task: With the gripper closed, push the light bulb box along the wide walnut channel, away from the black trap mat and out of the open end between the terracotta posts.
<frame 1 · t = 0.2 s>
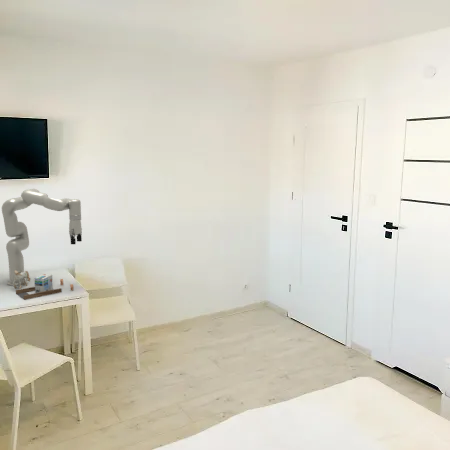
hand: (76, 242, 310), 31 cm above the table, tool pointing down, fingers open, 9 cm apart
light bulb box: (44, 292, 303), on the table
guide channel: (38, 293, 301), on the table
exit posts: (66, 287, 314), on the table
trap mat: (24, 295, 295), on the table
unicorn figurine: (24, 287, 312), on the table
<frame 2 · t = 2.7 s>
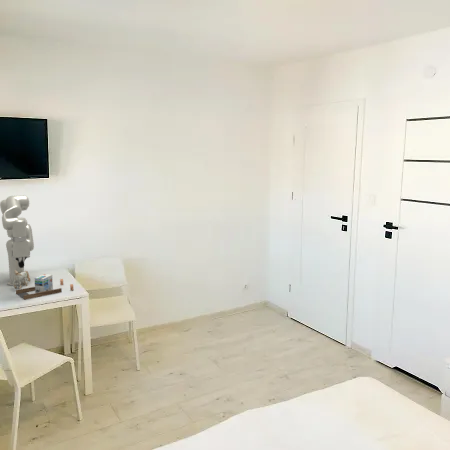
hand: (21, 267, 291), 19 cm above the table, tool pointing down, fingers closed
nothing on the table moved.
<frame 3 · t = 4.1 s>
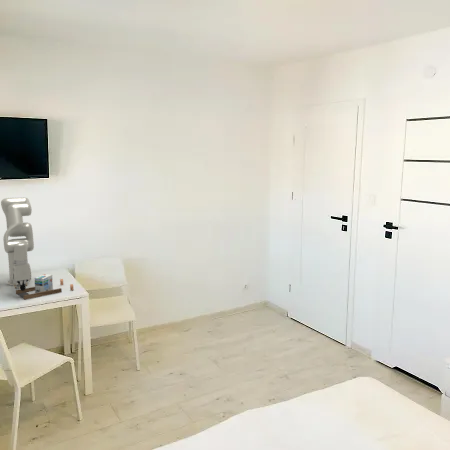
hand: (22, 290, 293), 4 cm above the table, tool pointing down, fingers closed
nothing on the table moved.
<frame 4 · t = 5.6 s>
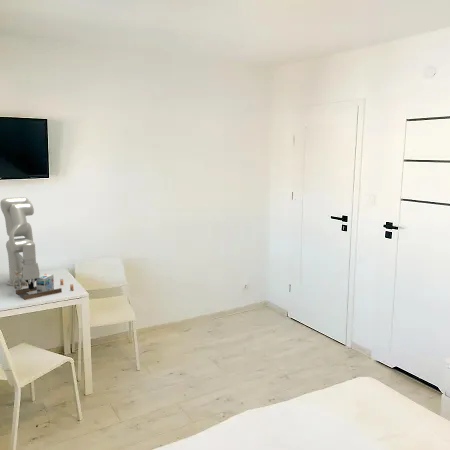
hand: (31, 289, 297), 4 cm above the table, tool pointing down, fingers closed
light bulb box: (45, 292, 304), on the table, touching gripper
everything else where it was.
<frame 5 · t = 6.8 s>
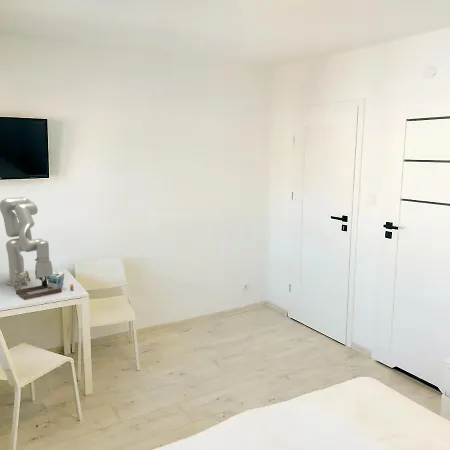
hand: (44, 286, 303), 4 cm above the table, tool pointing down, fingers closed
light bulb box: (54, 289, 308), on the table
everything else where it was.
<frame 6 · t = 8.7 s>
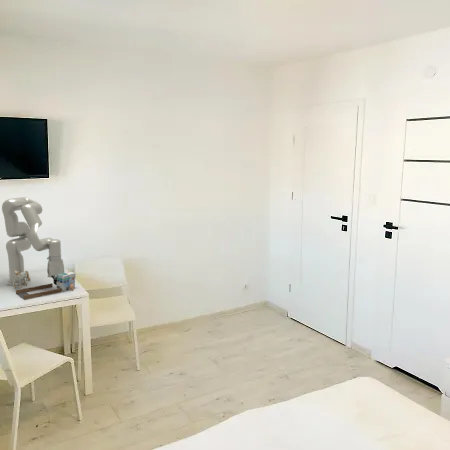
hand: (56, 284, 308), 3 cm above the table, tool pointing down, fingers closed
light bulb box: (65, 289, 310), on the table, touching gripper
everything else where it was.
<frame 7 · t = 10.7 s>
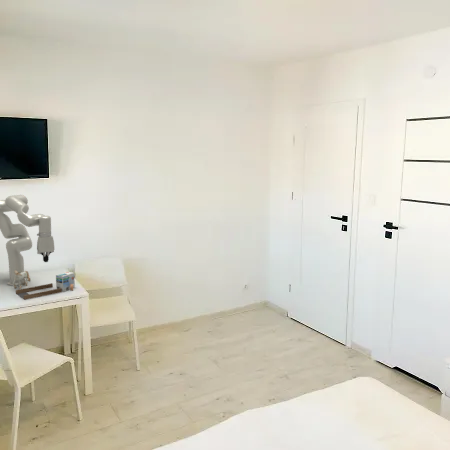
hand: (45, 261, 304), 20 cm above the table, tool pointing down, fingers closed
light bulb box: (65, 289, 310), on the table
everything else where it was.
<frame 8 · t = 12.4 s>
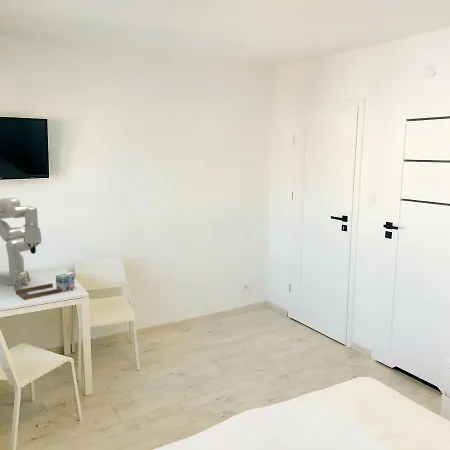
hand: (33, 253, 304), 25 cm above the table, tool pointing down, fingers closed
nothing on the table moved.
at the end: light bulb box inside the target area (4.2 cm from its centre), on the table; light bulb box tilted 0°; the gripper is holding nothing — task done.
